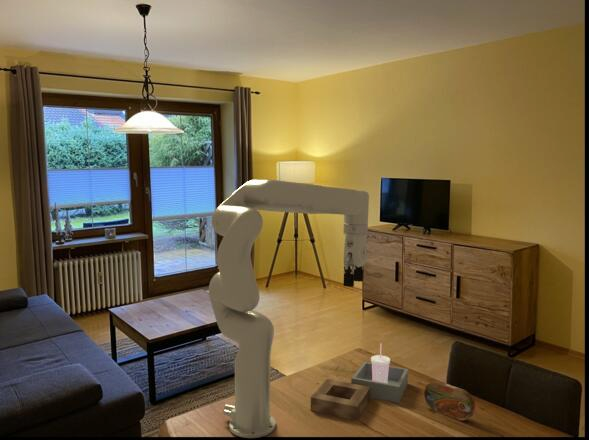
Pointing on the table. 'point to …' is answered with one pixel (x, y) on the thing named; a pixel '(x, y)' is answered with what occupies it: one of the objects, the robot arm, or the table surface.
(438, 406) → the tin
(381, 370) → the beverage cup
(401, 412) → the table surface
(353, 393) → the holder block
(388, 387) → the tray
